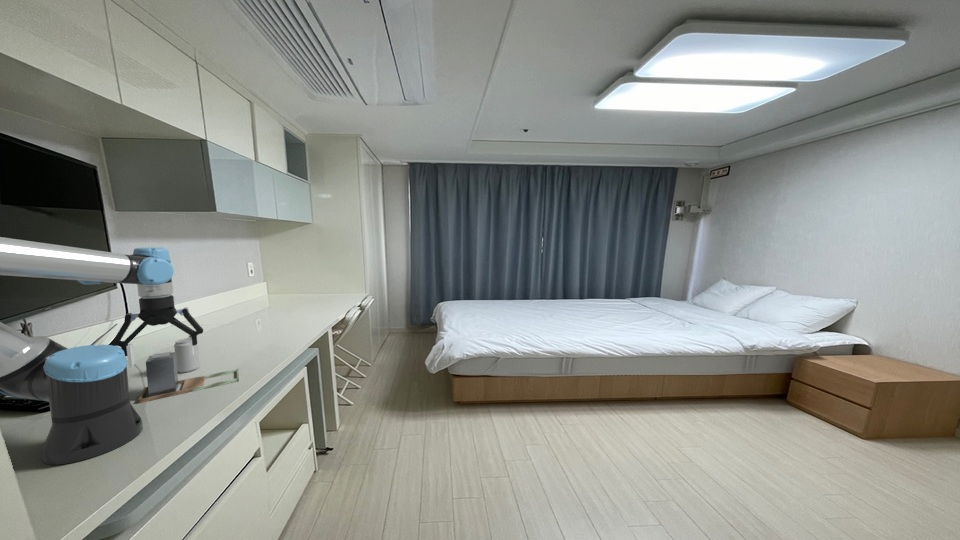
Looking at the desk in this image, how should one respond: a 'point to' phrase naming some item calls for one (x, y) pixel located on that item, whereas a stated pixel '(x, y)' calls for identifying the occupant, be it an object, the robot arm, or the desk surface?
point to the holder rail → (191, 385)
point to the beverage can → (186, 356)
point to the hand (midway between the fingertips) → (163, 360)
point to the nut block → (162, 373)
